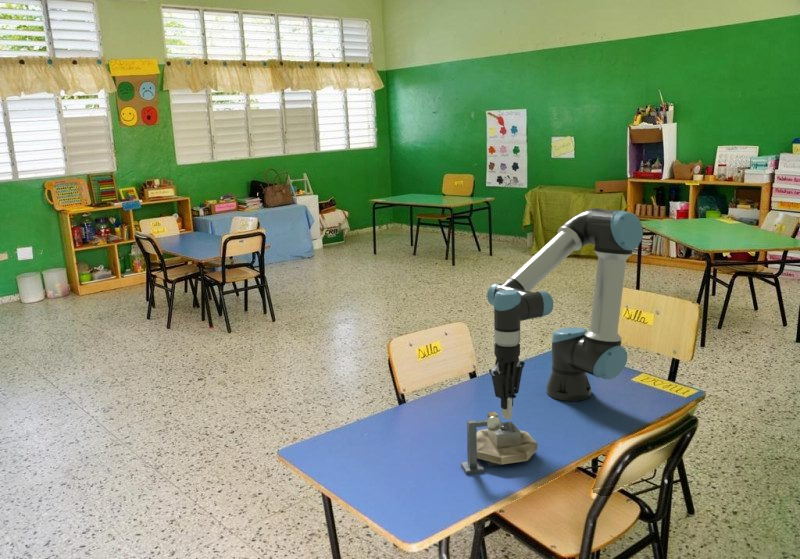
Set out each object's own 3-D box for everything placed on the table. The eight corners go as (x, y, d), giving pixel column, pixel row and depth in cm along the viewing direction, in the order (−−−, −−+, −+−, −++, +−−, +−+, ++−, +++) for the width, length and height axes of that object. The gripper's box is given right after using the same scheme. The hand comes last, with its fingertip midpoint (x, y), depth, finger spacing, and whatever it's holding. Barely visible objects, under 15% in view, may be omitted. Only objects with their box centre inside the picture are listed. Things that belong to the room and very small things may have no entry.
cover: (511, 434, 195) (511, 419, 194) (520, 444, 188) (520, 429, 187) (488, 437, 193) (488, 422, 192) (496, 448, 187) (496, 432, 186)
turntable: (519, 430, 201) (520, 408, 200) (545, 458, 184) (545, 434, 183) (462, 438, 198) (462, 415, 196) (482, 467, 181) (482, 443, 179)
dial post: (496, 460, 187) (496, 410, 184) (503, 469, 183) (503, 418, 179) (460, 465, 185) (459, 415, 182) (466, 474, 180) (465, 422, 177)
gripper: (513, 335, 203) (512, 408, 208) (482, 344, 195) (482, 419, 200) (531, 341, 197) (531, 415, 202) (500, 350, 190) (500, 427, 195)
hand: (506, 417), depth 201 cm, fingers closed
